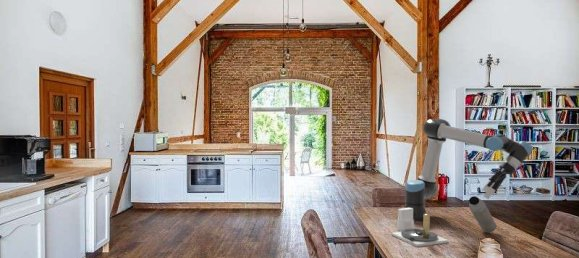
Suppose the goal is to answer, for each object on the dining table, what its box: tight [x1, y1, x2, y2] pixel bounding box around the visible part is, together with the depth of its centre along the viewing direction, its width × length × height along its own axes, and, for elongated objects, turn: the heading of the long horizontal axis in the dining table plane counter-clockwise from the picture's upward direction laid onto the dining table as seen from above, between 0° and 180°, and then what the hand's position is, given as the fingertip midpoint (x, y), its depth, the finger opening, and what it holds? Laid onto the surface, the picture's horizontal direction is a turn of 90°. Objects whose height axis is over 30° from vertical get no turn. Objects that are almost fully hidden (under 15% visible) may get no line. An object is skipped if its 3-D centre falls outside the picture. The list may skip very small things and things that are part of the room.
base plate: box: [391, 231, 449, 247], centre depth 194 cm, size 20×20×3 cm
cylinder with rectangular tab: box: [396, 207, 415, 232], centre depth 210 cm, size 9×9×12 cm
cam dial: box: [400, 213, 439, 241], centre depth 194 cm, size 18×18×13 cm
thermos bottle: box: [468, 195, 497, 234], centre depth 201 cm, size 8×8×28 cm
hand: (485, 194), depth 206 cm, fingers open, 13 cm apart
